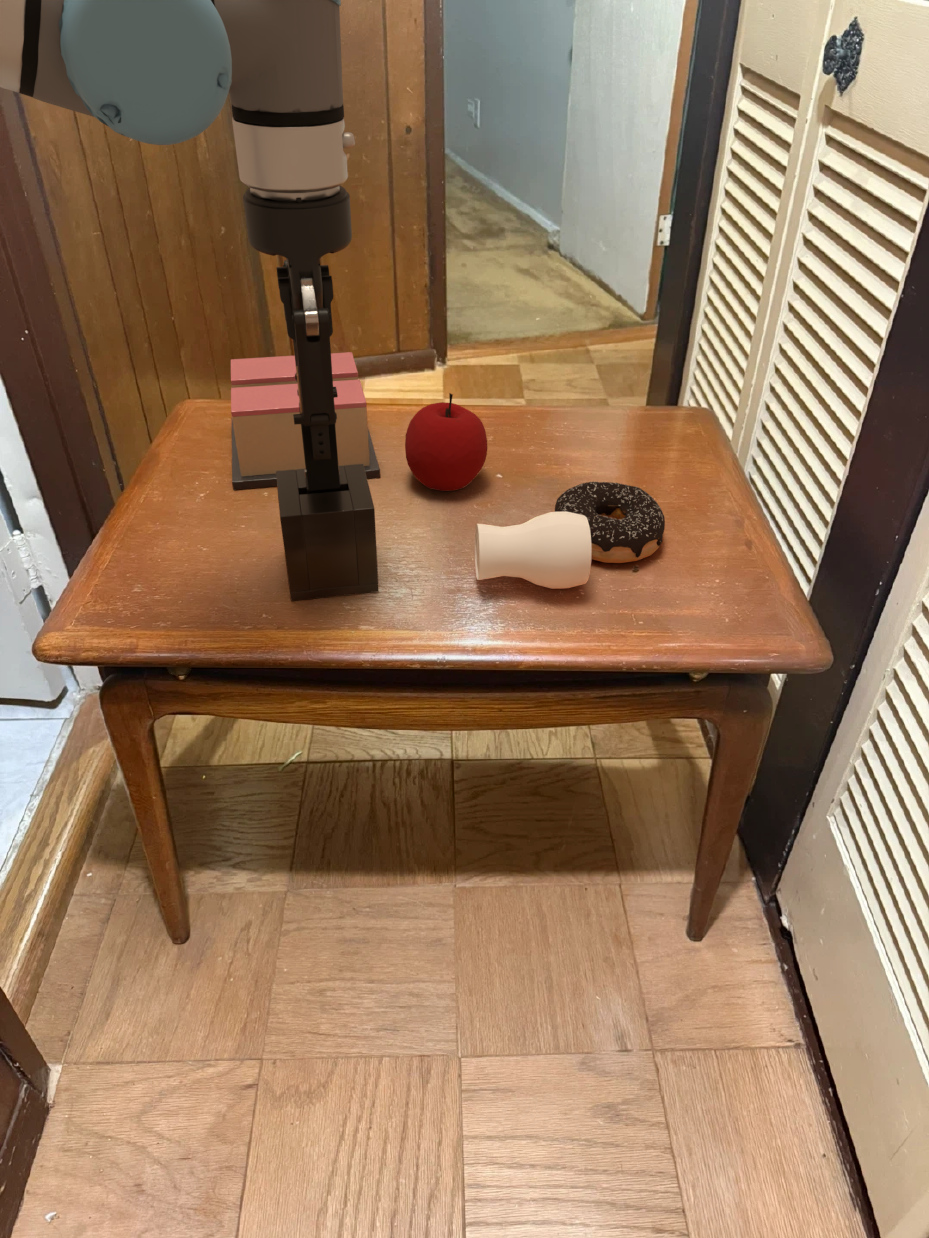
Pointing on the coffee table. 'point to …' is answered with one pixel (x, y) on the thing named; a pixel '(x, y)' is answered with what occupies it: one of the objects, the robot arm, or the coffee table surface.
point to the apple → (445, 446)
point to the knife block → (328, 535)
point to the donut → (616, 519)
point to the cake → (290, 419)
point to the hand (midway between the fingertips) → (322, 479)
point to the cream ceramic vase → (537, 550)
